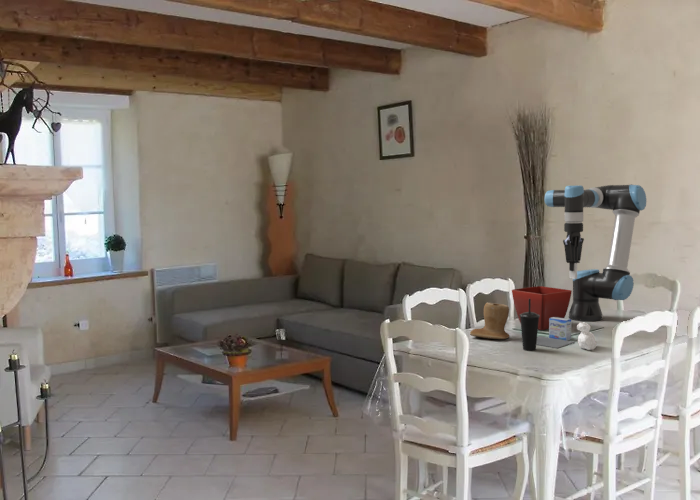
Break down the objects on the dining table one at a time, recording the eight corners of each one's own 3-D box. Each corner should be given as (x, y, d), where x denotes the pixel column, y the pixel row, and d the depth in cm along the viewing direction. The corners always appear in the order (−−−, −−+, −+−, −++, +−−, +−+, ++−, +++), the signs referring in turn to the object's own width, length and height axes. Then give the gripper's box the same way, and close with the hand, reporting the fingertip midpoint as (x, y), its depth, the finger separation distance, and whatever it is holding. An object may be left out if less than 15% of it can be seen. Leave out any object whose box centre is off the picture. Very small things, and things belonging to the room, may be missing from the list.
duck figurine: (589, 350, 275) (571, 326, 278) (605, 340, 272) (587, 316, 274) (583, 357, 265) (564, 332, 267) (599, 346, 261) (580, 322, 264)
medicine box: (548, 338, 287) (548, 318, 287) (553, 336, 291) (554, 316, 290) (566, 341, 282) (566, 320, 281) (571, 339, 285) (571, 318, 284)
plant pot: (539, 320, 324) (539, 285, 322) (572, 327, 308) (572, 290, 307) (510, 326, 314) (510, 289, 312) (543, 333, 298) (543, 294, 296)
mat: (539, 336, 290) (539, 336, 290) (574, 342, 279) (574, 341, 279) (522, 342, 282) (522, 341, 282) (557, 348, 270) (557, 347, 270)
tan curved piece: (513, 336, 292) (513, 301, 291) (503, 342, 282) (503, 306, 281) (480, 333, 300) (480, 299, 299) (469, 338, 290) (469, 303, 289)
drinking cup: (520, 351, 266) (520, 300, 264) (518, 347, 274) (518, 297, 272) (540, 351, 265) (541, 300, 263) (538, 347, 273) (538, 297, 271)
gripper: (573, 221, 295) (573, 276, 298) (557, 223, 287) (556, 279, 289) (590, 221, 290) (589, 277, 292) (573, 223, 281) (573, 280, 283)
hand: (573, 278), depth 291 cm, fingers closed
